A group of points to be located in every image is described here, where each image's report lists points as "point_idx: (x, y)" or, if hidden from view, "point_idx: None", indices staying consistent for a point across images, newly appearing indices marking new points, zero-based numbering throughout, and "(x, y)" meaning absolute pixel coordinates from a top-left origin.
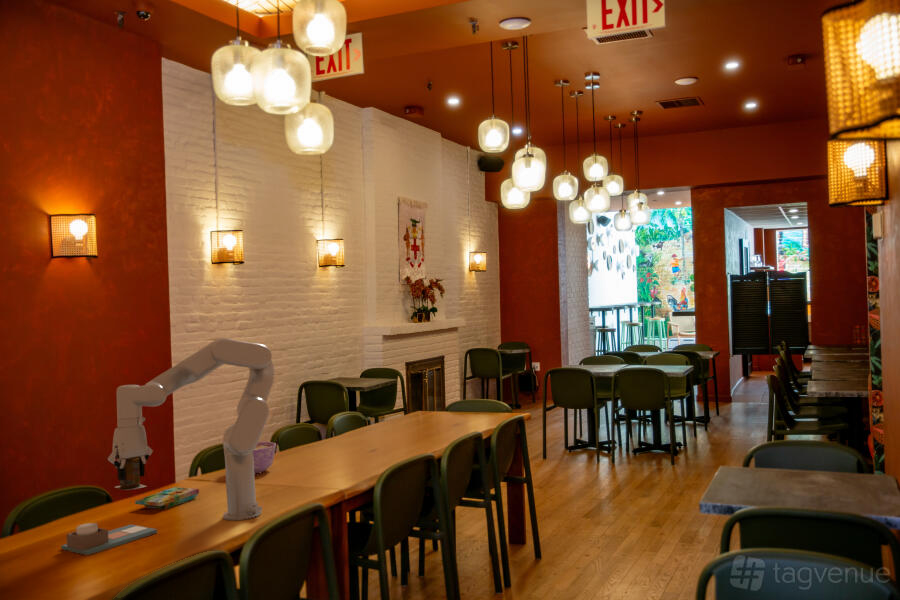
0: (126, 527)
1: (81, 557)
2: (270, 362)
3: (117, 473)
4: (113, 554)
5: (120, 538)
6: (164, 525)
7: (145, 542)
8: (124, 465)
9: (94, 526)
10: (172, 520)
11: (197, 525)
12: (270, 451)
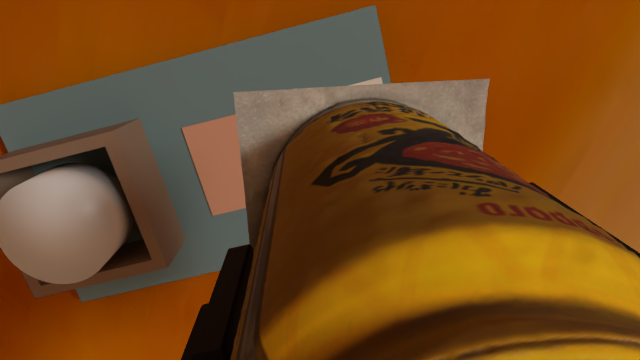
0: (333, 52)
1: (67, 293)
2: None
3: (191, 334)
4: (176, 351)
5: (243, 229)
6: (503, 116)
7: None
8: None
9: (87, 277)
10: (582, 54)
11: None
12: None
